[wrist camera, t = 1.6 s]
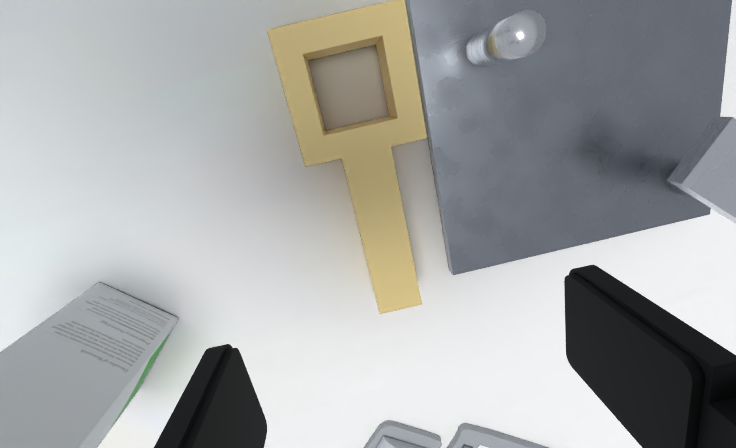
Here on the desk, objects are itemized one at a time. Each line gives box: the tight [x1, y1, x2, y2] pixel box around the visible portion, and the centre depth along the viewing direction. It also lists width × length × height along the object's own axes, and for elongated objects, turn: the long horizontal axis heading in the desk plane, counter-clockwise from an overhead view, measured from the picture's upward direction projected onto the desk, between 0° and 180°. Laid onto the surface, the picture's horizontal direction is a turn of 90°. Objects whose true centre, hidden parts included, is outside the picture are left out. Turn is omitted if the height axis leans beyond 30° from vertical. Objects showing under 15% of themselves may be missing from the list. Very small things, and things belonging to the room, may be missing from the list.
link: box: [267, 0, 427, 314], centre depth 24 cm, size 18×7×4 cm, turn 13°
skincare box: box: [0, 282, 178, 448], centre depth 21 cm, size 8×7×16 cm
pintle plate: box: [406, 0, 736, 275], centre depth 22 cm, size 20×20×7 cm
